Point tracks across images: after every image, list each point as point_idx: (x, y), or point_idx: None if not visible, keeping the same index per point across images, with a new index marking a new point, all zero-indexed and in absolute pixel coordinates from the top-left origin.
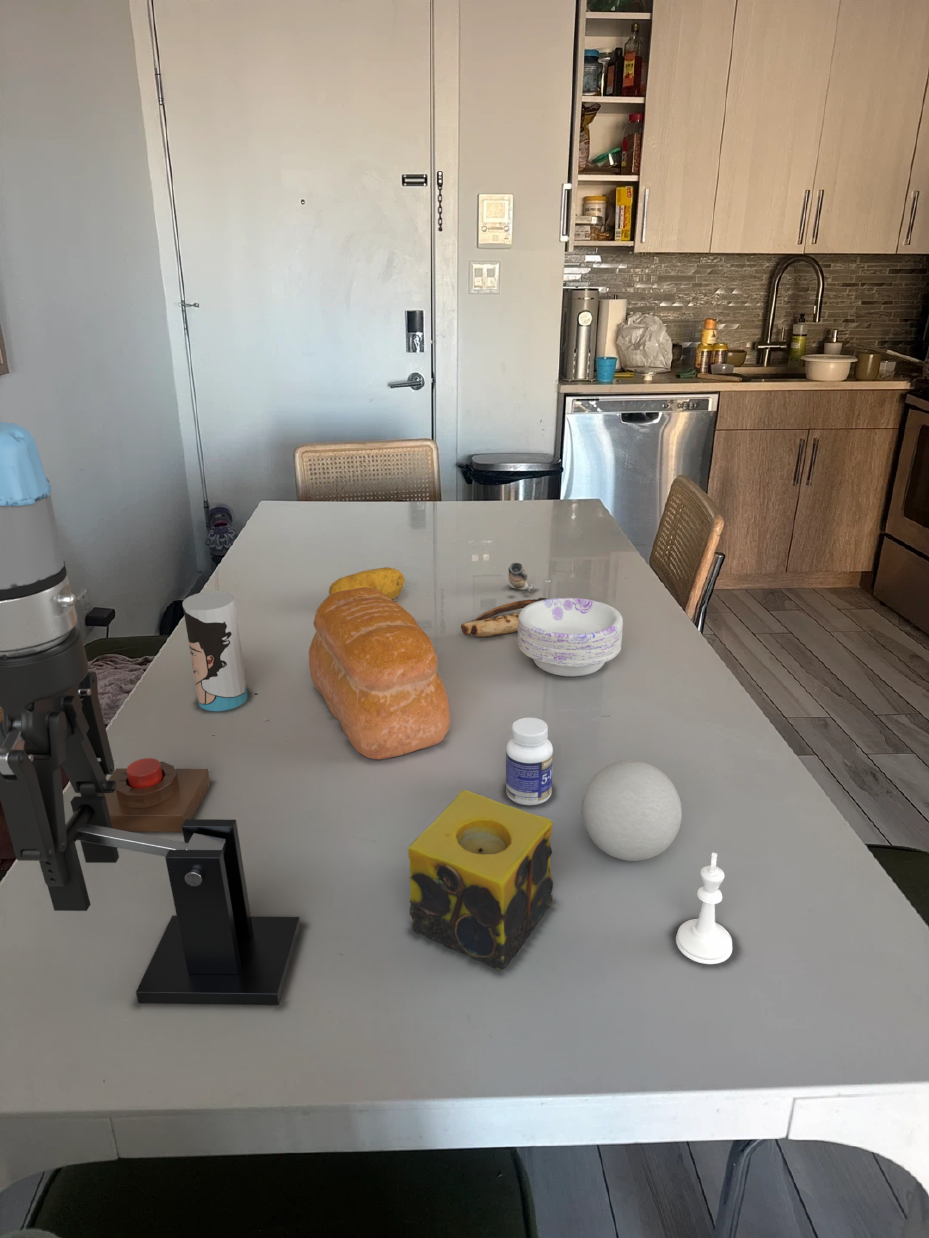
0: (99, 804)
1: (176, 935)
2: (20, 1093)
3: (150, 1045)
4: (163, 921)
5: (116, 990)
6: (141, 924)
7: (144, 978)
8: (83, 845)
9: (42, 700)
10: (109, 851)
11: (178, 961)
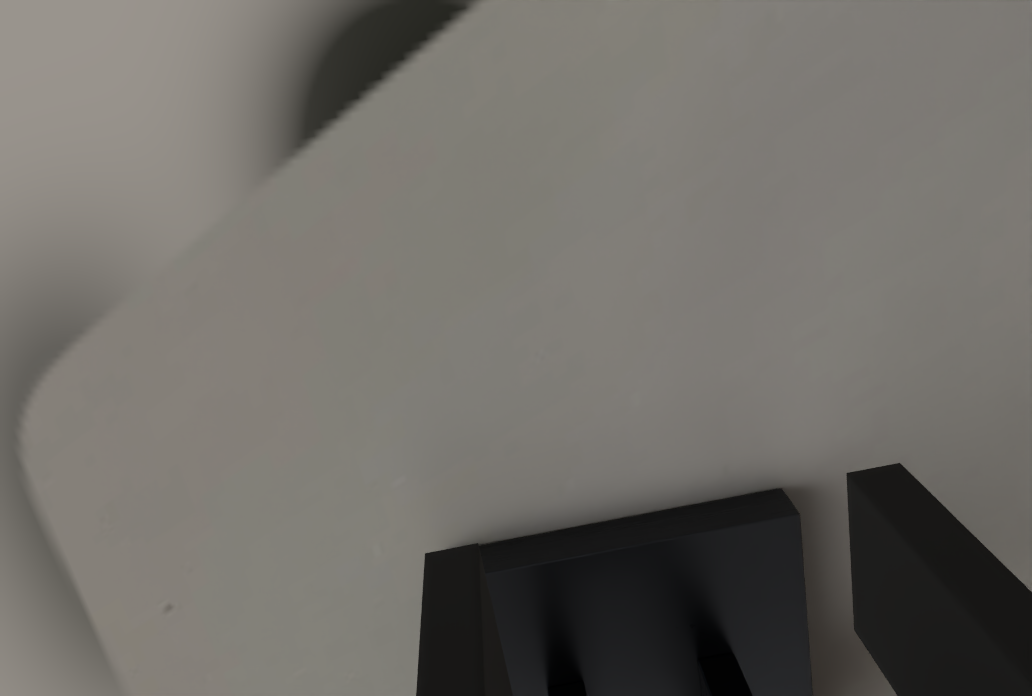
0: None
1: (703, 577)
2: (37, 412)
3: (313, 657)
4: (801, 439)
5: (475, 459)
6: (780, 373)
7: (500, 578)
8: (911, 563)
9: None
10: (891, 668)
11: (591, 637)
